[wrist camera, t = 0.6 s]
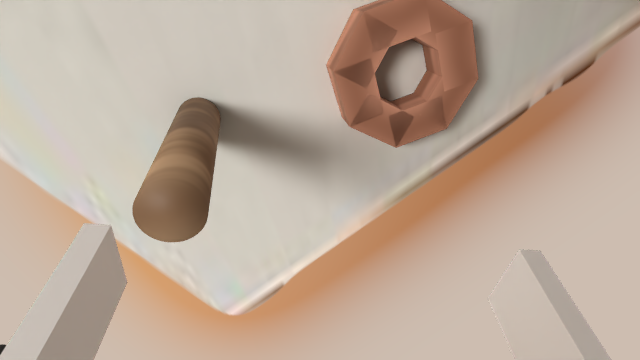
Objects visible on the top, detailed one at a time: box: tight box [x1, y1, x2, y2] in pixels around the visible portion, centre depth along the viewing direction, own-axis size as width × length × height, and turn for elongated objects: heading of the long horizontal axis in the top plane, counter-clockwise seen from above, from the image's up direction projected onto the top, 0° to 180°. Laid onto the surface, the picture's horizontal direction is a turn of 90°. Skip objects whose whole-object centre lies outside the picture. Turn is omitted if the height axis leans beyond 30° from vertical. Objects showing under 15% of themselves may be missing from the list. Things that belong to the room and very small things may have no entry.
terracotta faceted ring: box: [326, 0, 478, 148], centre depth 34 cm, size 12×12×3 cm
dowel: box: [133, 98, 221, 242], centre depth 26 cm, size 4×4×16 cm
